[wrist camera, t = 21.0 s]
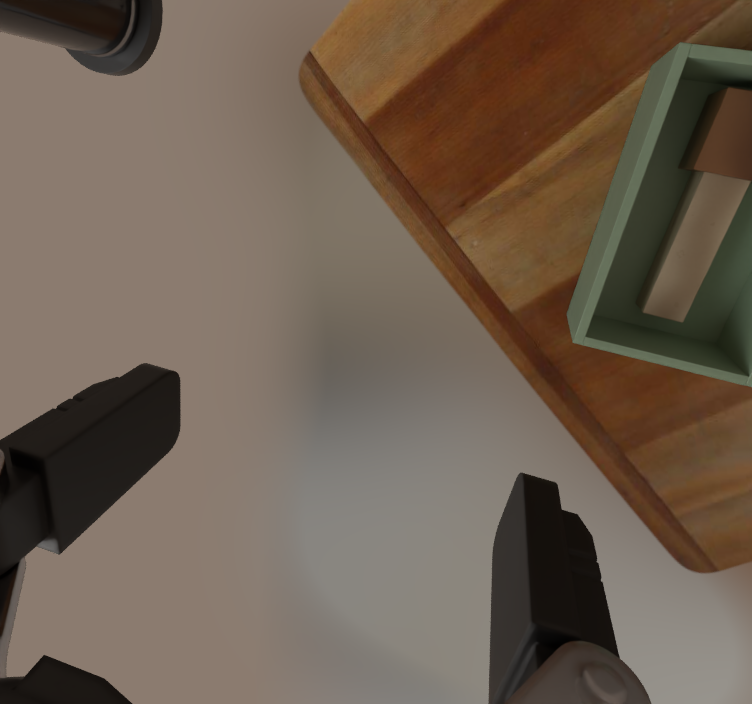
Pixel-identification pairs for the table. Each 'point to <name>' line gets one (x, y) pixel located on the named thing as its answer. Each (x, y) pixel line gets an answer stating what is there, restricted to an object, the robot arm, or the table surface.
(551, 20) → the table surface
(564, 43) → the table surface
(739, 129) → the bar
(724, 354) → the bin
